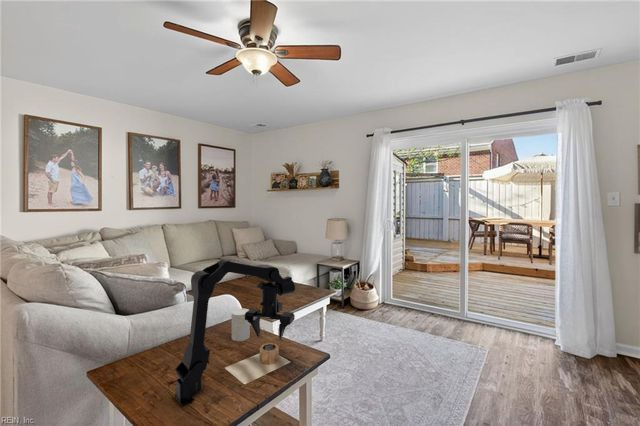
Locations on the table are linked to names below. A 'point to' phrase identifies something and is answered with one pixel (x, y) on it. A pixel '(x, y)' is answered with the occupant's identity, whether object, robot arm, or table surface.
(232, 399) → the table surface
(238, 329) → the cup
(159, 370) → the table surface
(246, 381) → the duct base
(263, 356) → the sleeve
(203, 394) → the table surface
